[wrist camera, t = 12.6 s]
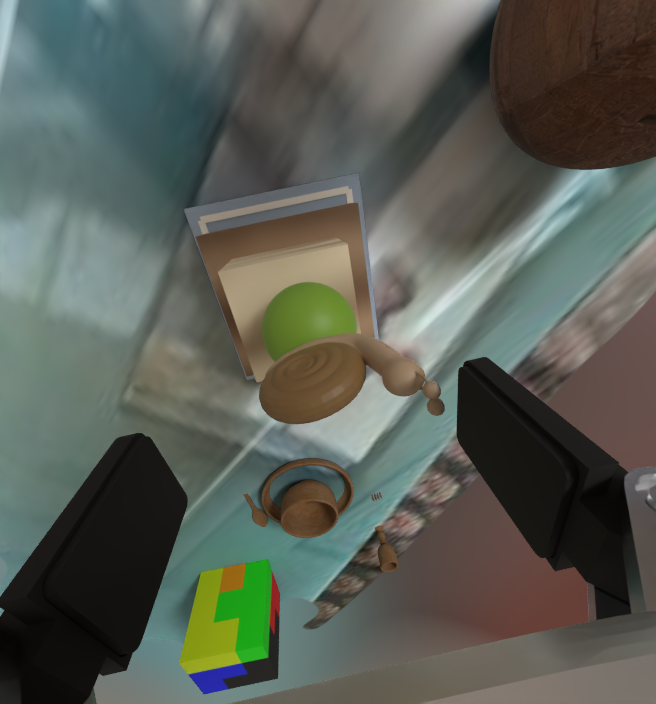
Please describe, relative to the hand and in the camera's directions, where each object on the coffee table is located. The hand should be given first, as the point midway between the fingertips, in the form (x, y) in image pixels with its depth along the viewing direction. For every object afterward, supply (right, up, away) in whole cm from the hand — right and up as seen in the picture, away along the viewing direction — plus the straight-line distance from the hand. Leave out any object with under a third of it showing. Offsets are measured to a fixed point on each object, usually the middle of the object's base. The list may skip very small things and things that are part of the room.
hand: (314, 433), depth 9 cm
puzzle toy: (-13, -34, +38) cm, 53 cm away
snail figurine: (-1, +5, +11) cm, 12 cm away
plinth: (-3, +8, +18) cm, 20 cm away
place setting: (-1, -19, +33) cm, 38 cm away
